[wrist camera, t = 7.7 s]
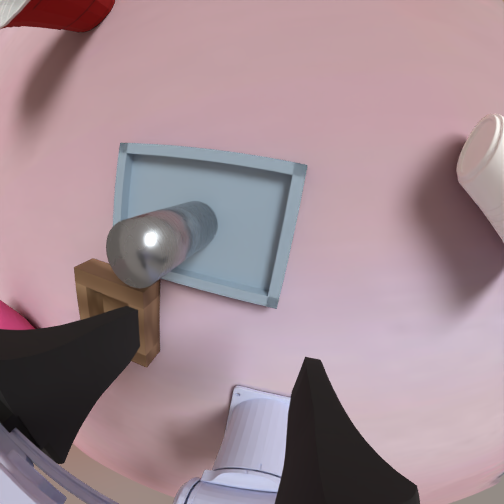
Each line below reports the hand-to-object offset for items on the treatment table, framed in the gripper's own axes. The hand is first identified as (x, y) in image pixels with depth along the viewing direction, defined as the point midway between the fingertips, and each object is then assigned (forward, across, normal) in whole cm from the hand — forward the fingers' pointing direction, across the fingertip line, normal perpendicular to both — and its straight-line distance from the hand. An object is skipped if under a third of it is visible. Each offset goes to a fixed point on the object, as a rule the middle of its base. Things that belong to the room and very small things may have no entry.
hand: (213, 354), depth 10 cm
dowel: (+10, +5, -2) cm, 11 cm away
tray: (+10, +5, -3) cm, 12 cm away
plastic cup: (+11, +22, -24) cm, 34 cm away
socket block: (+10, +12, +7) cm, 17 cm away
